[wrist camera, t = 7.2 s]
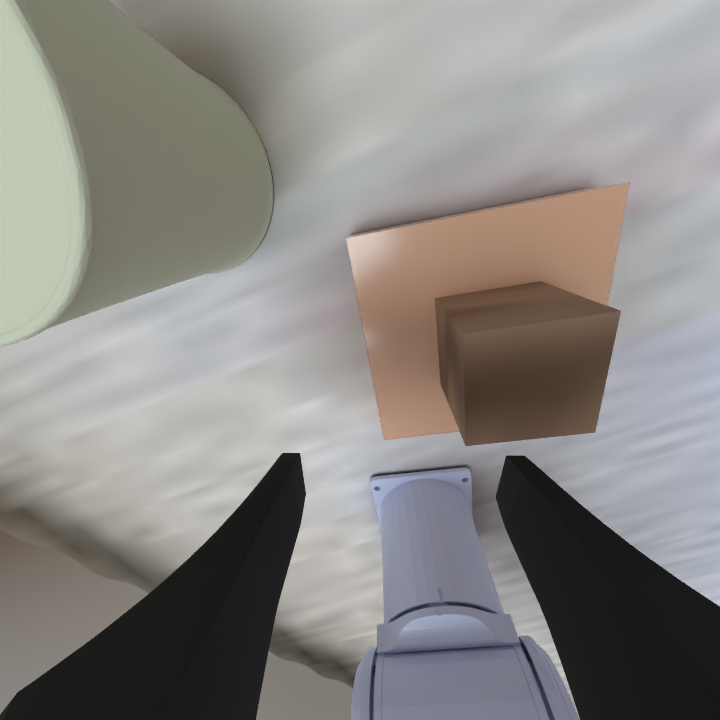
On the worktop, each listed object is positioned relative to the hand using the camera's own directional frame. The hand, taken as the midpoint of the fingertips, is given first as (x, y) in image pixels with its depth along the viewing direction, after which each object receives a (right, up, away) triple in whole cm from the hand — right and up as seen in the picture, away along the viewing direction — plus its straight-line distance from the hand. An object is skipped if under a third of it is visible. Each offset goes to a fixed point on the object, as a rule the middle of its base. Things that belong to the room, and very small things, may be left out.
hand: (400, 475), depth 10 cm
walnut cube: (+5, +5, +5) cm, 9 cm away
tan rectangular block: (+5, +7, +8) cm, 11 cm away
